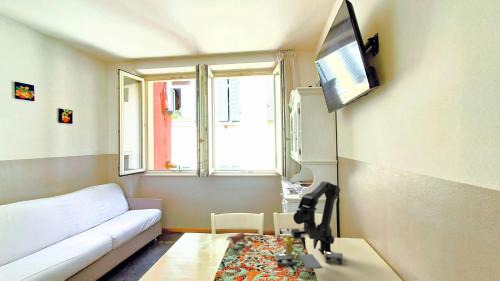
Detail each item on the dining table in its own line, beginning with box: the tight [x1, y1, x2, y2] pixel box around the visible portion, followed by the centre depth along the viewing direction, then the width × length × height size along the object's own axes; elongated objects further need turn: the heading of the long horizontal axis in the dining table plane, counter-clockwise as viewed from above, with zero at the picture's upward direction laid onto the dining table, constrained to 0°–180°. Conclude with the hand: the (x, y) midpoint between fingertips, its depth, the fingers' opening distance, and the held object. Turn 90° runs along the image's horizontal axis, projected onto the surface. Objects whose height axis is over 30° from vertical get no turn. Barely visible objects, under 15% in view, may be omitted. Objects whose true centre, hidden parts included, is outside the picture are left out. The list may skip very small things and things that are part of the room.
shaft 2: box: [323, 251, 343, 265], centre depth 125 cm, size 9×4×5 cm, turn 76°
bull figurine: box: [225, 231, 245, 250], centre depth 144 cm, size 4×13×8 cm, turn 133°
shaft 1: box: [275, 252, 297, 266], centre depth 124 cm, size 10×4×5 cm, turn 96°
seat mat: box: [298, 253, 323, 270], centre depth 125 cm, size 14×8×1 cm, turn 6°
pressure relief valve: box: [277, 234, 295, 254], centre depth 131 cm, size 6×12×10 cm, turn 138°
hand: (309, 248), depth 125 cm, fingers open, 5 cm apart
